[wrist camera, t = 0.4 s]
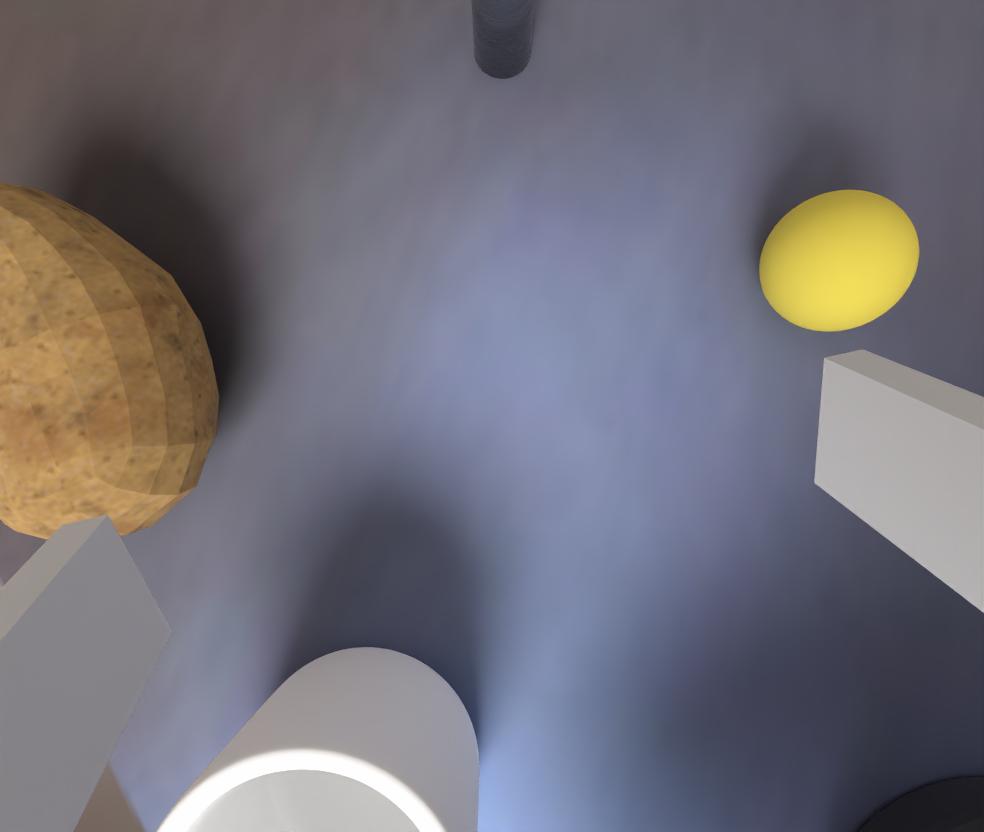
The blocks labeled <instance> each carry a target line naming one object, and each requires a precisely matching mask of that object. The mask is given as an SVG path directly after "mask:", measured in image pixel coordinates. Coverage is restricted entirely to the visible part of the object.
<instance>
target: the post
mask: <svg viewBox="0 0 984 832" xmlns="http://www.w3.org/2000/svg"><path fill="white" fill-rule="evenodd" d="M534 9H535V0H472V16H473V34H474V53H475V59H476V62H477V64H478V65H479V67H480V68H481V69H482V70H483V71H484V72H485V73H486V74H488V75H490V76H492V77H495V78H502V79H503V78H510V77H513V76H515V75H517V74H519V73H520V72H521V71H522V70H523V69H524V68H525V67H526V65H527V64H528V62H529V59H530V53H531V42H532V31H533V20H534Z"/></svg>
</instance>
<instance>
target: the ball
mask: <svg viewBox="0 0 984 832" xmlns="http://www.w3.org/2000/svg"><path fill="white" fill-rule="evenodd" d="M918 259H919V241H918V237H917V233H916V230H915V228H914V226H913V224H912V222H911V220H910V219H909V217H908V216H907V214H906V213H905V212H904V211H903V210H902V209H901V208H900V207H899V206H898V205H896V204H895V203H894V202H892V201H891V200H889V199H887V198H885V197H883V196H881V195H878V194H875V193H872V192H868V191H863V190H838V191H833V192H827V193H824V194H821V195H818V196H815V197H813V198H810V199H808V200H806V201H804V202H803V203H801V204H799V205H798V206H796V207H795V208H793V209H792V210H791V211H790V212H788V213H787V214H786V215H785V216H784V217H783V218H782V219H781V220H780V221H779V222H778V223H777V224H776V226H775V227H774V229H773V230H772V232H771V233H770V235H769V236H768V238H767V240H766V242H765V244H764V247H763V250H762V253H761V257H760V263H759V275H760V282H761V287H762V290H763V292H764V295H765V297H766V299H767V300H768V302H769V303H770V305H771V306H772V307H773V308H774V310H775V311H776V312H777V313H779V314H780V315H781V316H782V317H783V318H785V319H786V320H788V321H789V322H791V323H793V324H795V325H797V326H800V327H803V328H806V329H810V330H815V331H841V330H846V329H851V328H855V327H858V326H861V325H864V324H866V323H868V322H870V321H872V320H874V319H876V318H878V317H879V316H881V315H882V314H884V313H885V312H887V311H888V310H889V309H890V308H891V307H892V306H894V305H895V304H896V303H897V302H898V300H899V299H900V298H901V297H902V296H903V295H904V293H905V292H906V290H907V289H908V287H909V286H910V284H911V282H912V280H913V278H914V276H915V272H916V269H917V265H918Z"/></svg>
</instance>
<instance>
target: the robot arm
mask: <svg viewBox="0 0 984 832" xmlns="http://www.w3.org/2000/svg"><path fill="white" fill-rule="evenodd" d="M814 483H815V484H816V485H818V486H819V487H820V488H822V489H823V490H824V491H826V492H827V493H828V494H829V495H831V496H832V497H833V498H835V499H836V500H837V501H839V502H840V503H841V504H843V505H844V506H845V507H846V508H848V509H849V510H850V511H852V512H853V513H854V514H856V515H857V516H858V517H859V518H861V519H862V520H863V521H865V522H866V523H867V524H869V525H870V526H871V527H872V528H874V529H875V530H876V531H878V532H879V533H880V534H882V535H883V536H884V537H886V538H887V539H888V540H889V541H891V542H892V543H893V544H895V545H896V546H897V547H899V548H900V549H901V550H902V551H904V552H905V553H906V554H908V555H909V556H910V557H912V558H913V559H914V560H916V561H917V562H918V563H919V564H921V565H922V566H923V567H925V568H926V569H927V570H929V571H930V572H931V573H932V574H934V575H935V576H936V577H938V578H939V579H940V580H942V581H943V582H944V583H945V584H947V585H948V586H949V587H951V588H952V589H953V590H955V591H956V592H957V593H959V594H960V595H961V596H962V597H964V598H965V599H966V600H968V601H969V602H970V603H972V604H973V605H974V606H975V607H977V608H978V609H979V610H981V611H982V612H983V613H984V397H982V396H980V395H977V394H975V393H972V392H970V391H967V390H965V389H962V388H959V387H957V386H954V385H952V384H949V383H947V382H944V381H942V380H939V379H937V378H934V377H932V376H929V375H927V374H924V373H922V372H919V371H916V370H914V369H911V368H909V367H906V366H904V365H901V364H899V363H896V362H894V361H891V360H889V359H886V358H884V357H881V356H879V355H876V354H873V353H871V352H868V351H866V350H863V349H862V350H857V351H852V352H848V353H843V354H839V355H834V356H830V357H825V358H824V367H823V379H822V392H821V404H820V417H819V429H818V442H817V454H816V467H815V480H814ZM171 634H172V631H171V629H170V627H169V625H168V623H167V622H166V620H165V618H164V616H163V614H162V613H161V611H160V609H159V607H158V605H157V603H156V602H155V600H154V598H153V596H152V594H151V592H150V591H149V589H148V587H147V585H146V583H145V582H144V580H143V578H142V576H141V574H140V572H139V571H138V569H137V567H136V565H135V563H134V561H133V560H132V558H131V556H130V554H129V552H128V551H127V549H126V547H125V545H124V543H123V541H122V540H121V538H120V536H119V534H118V532H117V530H116V529H115V527H114V525H113V523H112V521H111V520H110V518H109V516H108V515H103V516H99V517H94V518H90V519H85V520H81V521H76V522H71V523H67V524H62V525H61V527H60V528H59V529H58V530H57V531H56V532H55V533H54V534H53V535H52V536H51V537H50V538H49V539H48V540H47V541H46V542H45V543H44V544H43V545H42V546H41V547H40V548H39V550H38V551H37V552H36V553H35V554H34V555H33V556H32V557H31V558H30V559H29V560H28V561H27V562H26V563H25V564H24V565H23V566H22V567H21V568H20V569H19V570H18V572H17V573H16V574H15V575H14V576H13V577H12V578H11V579H10V580H9V581H8V582H7V583H6V584H5V585H4V586H3V587H2V588H1V589H0V832H73V831H74V829H75V827H76V825H77V823H78V821H79V819H80V817H81V815H82V813H83V810H84V809H85V807H86V805H87V803H88V801H89V799H90V797H91V795H92V792H93V790H94V788H95V786H96V784H97V782H98V780H99V778H100V776H101V774H102V772H103V770H104V768H105V766H106V764H107V762H108V760H109V758H110V756H111V754H112V752H113V750H114V748H115V746H116V744H117V742H118V740H119V738H120V736H121V734H122V732H123V730H124V728H125V726H126V724H127V722H128V720H129V718H130V716H131V714H132V712H133V710H134V708H135V706H136V704H137V702H138V700H139V698H140V696H141V694H142V692H143V690H144V688H145V686H146V684H147V682H148V680H149V678H150V676H151V674H152V672H153V670H154V668H155V666H156V664H157V662H158V660H159V658H160V656H161V654H162V652H163V650H164V648H165V646H166V644H167V642H168V640H169V638H170V636H171ZM858 832H984V777H966V778H957V779H952V780H946V781H942V782H939V783H935V784H932V785H929V786H926V787H923V788H920V789H918V790H916V791H913V792H911V793H909V794H907V795H905V796H903V797H901V798H900V799H898V800H896V801H895V802H893V803H891V804H890V805H888V806H887V807H885V808H884V809H883V810H881V811H880V812H879V813H877V814H876V815H875V816H874V817H873V818H872V819H871V820H869V821H868V822H867V823H866V824H865V825H864V826H863V827H862V828H861V829H860V830H859V831H858Z"/></svg>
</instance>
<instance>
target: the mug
mask: <svg viewBox="0 0 984 832" xmlns="http://www.w3.org/2000/svg"><path fill="white" fill-rule="evenodd" d="M478 804H479V753H478V745H477V740H476V735H475V732H474V728H473V725H472V722H471V720H470V717H469V715H468V713H467V711H466V709H465V707H464V705H463V703H462V701H461V700H460V698H459V697H458V695H457V694H456V692H455V691H454V690H453V689H452V687H451V686H450V685H449V684H448V683H447V682H446V681H445V680H444V679H443V678H442V677H441V676H440V675H439V674H438V673H437V672H435V671H434V670H433V669H431V668H430V667H429V666H427V665H426V664H424V663H422V662H421V661H419V660H417V659H415V658H413V657H411V656H408V655H406V654H403V653H400V652H397V651H393V650H389V649H383V648H375V647H358V648H349V649H344V650H339V651H336V652H332V653H329V654H327V655H324V656H322V657H319V658H317V659H315V660H313V661H312V662H310V663H308V664H307V665H305V666H303V667H302V668H300V669H299V670H298V671H296V672H295V673H294V674H293V675H291V676H290V677H289V678H288V679H287V680H286V681H285V682H284V683H283V684H282V685H281V686H280V687H279V688H278V689H277V690H276V691H275V692H274V693H273V694H272V695H271V696H270V697H269V698H268V700H267V701H266V702H265V703H264V704H263V705H262V706H261V707H260V708H259V709H258V711H257V712H256V713H255V714H254V715H253V716H252V717H251V718H250V719H249V721H248V722H247V723H246V724H245V725H244V726H243V727H242V728H241V730H240V731H239V732H238V733H237V734H236V735H235V736H234V737H233V739H232V740H231V741H230V742H229V743H228V744H227V745H226V746H225V748H224V749H223V750H222V751H221V752H220V753H219V754H218V755H217V757H216V758H215V759H214V760H213V761H212V762H211V763H210V764H209V766H208V767H207V768H206V769H205V770H204V771H203V772H202V773H201V775H200V776H199V777H198V778H197V779H196V780H195V781H194V782H193V784H192V785H191V786H190V787H189V788H188V789H187V790H186V792H185V793H184V794H183V795H182V796H181V797H180V799H179V800H178V801H177V802H176V804H175V805H174V806H173V807H172V809H171V810H170V811H169V813H168V814H167V816H166V817H165V819H164V820H163V822H162V823H161V825H160V826H159V828H158V830H157V832H477V828H478Z"/></svg>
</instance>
